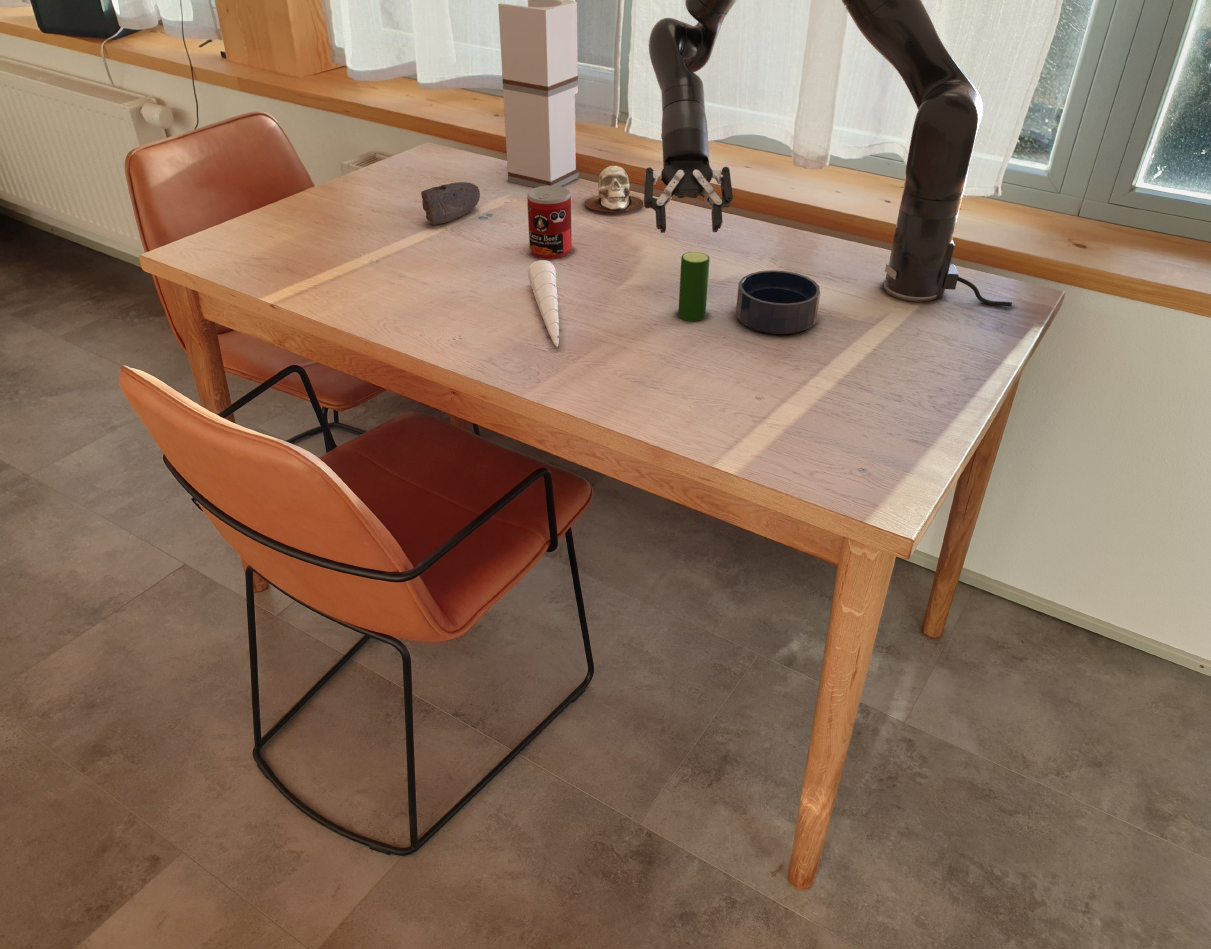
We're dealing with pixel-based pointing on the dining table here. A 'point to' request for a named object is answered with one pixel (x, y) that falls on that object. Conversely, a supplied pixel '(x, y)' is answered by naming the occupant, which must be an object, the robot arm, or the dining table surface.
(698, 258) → the cucumber
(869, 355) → the dining table surface
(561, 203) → the canned food
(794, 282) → the bowl
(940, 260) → the robot arm
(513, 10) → the striped white pillar
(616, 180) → the skull
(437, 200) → the perforated stone tool
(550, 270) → the unicorn horn
